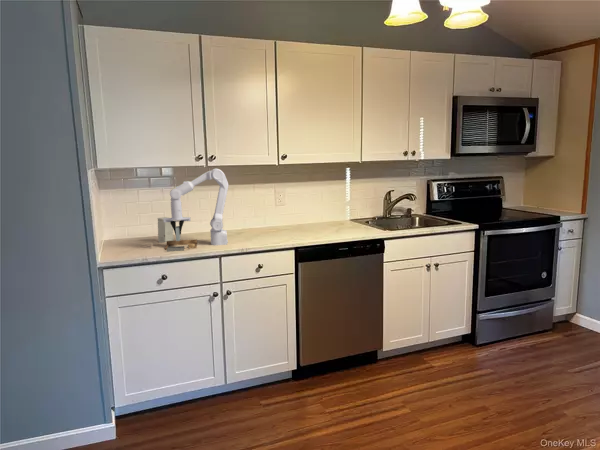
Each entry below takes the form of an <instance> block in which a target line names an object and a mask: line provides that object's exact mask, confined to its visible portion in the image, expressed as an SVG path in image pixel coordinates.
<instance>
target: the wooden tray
mask: <svg viewBox="0 0 600 450" xmlns="http://www.w3.org/2000/svg"><path fill="white" fill-rule="evenodd" d="M188 244H195V247H194V249H197V247H198V239H180V241H176V240H173V241H167V242H166V245H165V247H164V251H167V247H172V246H187V245H188ZM184 248H185V249H184V250H188V249H191V248H189V247H184Z"/></svg>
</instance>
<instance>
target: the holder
mask: <svg viewBox="0 0 600 450" xmlns="http://www.w3.org/2000/svg"><path fill="white" fill-rule="evenodd" d="M185 248H186V247H185V245H177V246H169V247H167V250H166V252H170V253H171V252H182V251H184V252H185V250H186V249H185Z"/></svg>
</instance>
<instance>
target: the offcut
mask: <svg viewBox="0 0 600 450" xmlns="http://www.w3.org/2000/svg"><path fill="white" fill-rule="evenodd" d="M188 248H190V249H194V248H195V245H194V244H188Z"/></svg>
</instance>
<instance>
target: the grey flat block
mask: <svg viewBox="0 0 600 450" xmlns="http://www.w3.org/2000/svg"><path fill="white" fill-rule="evenodd" d="M179 231H180V229H179V225H176V235H175V241H180V240H181V235H180V233H179Z"/></svg>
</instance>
